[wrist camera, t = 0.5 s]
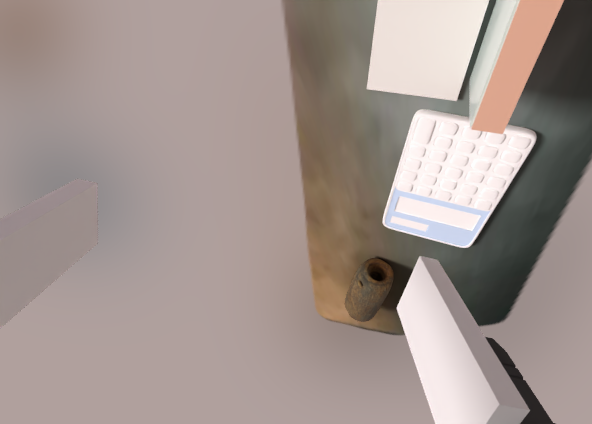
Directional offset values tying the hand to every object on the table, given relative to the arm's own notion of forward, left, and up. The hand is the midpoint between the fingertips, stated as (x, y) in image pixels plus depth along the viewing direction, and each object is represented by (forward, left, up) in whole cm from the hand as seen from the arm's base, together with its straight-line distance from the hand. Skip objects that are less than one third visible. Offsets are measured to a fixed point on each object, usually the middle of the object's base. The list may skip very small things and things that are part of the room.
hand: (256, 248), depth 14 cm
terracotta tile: (0, +11, -32) cm, 34 cm away
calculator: (+20, +11, -33) cm, 40 cm away
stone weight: (+45, +4, -32) cm, 55 cm away
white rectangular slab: (0, +4, -32) cm, 32 cm away
